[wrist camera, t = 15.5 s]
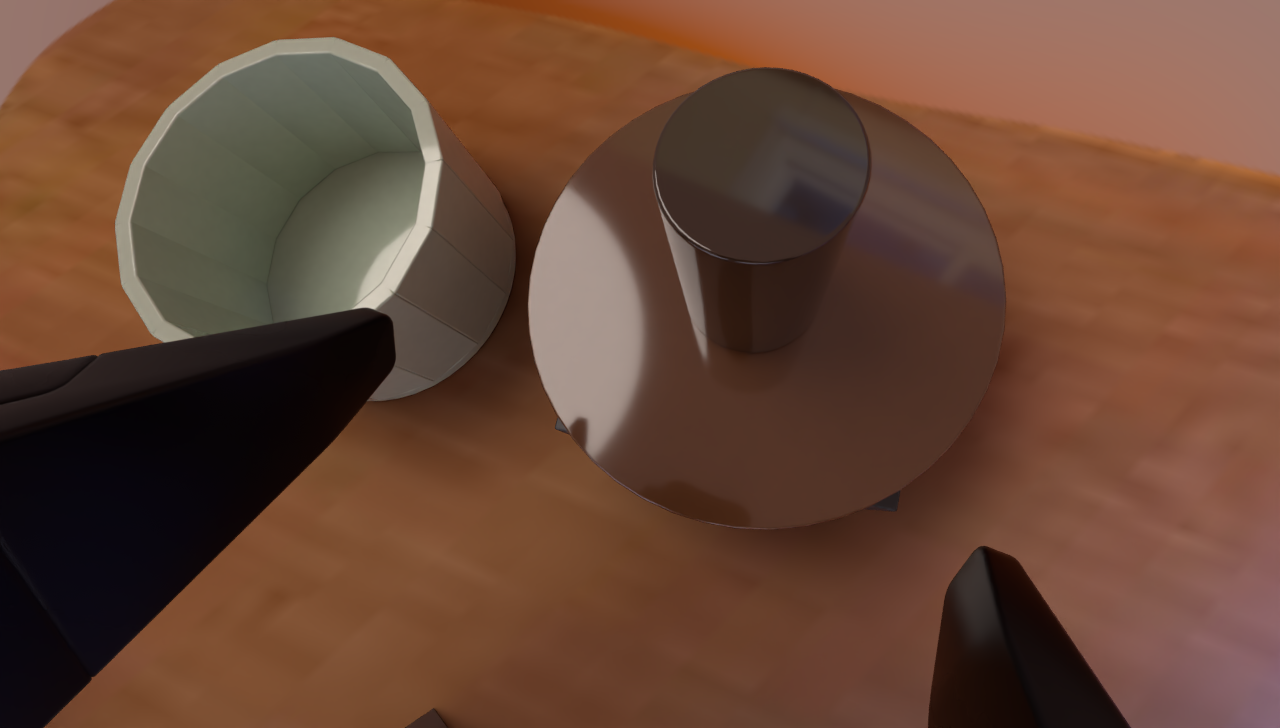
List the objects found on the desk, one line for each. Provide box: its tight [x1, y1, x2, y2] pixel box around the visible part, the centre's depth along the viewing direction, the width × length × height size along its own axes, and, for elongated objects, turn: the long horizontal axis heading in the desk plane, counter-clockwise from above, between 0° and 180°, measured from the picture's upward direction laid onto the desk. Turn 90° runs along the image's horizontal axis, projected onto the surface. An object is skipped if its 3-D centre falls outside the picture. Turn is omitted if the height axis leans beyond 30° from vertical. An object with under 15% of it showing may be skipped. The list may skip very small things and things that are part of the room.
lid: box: [527, 67, 1006, 530], centre depth 13 cm, size 12×12×7 cm
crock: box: [115, 37, 516, 401], centre depth 21 cm, size 10×10×6 cm
